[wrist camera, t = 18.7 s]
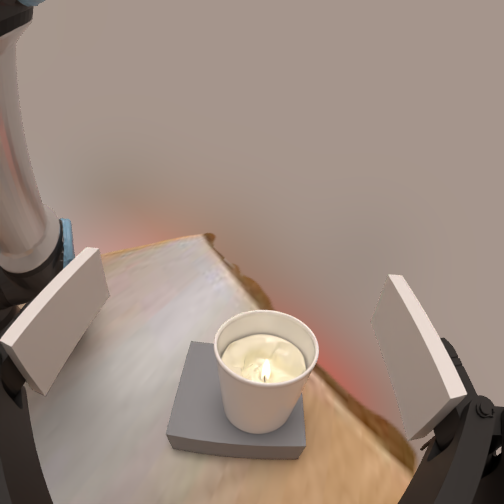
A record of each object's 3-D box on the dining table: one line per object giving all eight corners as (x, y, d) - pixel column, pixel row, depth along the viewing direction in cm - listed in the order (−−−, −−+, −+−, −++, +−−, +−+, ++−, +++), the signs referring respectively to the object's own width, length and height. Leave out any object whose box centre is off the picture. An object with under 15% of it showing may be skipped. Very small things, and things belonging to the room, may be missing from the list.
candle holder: (312, 404, 31) (337, 340, 25) (260, 455, 24) (273, 405, 19) (255, 365, 37) (262, 297, 31) (200, 404, 30) (191, 339, 24)
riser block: (173, 448, 28) (165, 434, 26) (193, 361, 42) (191, 341, 40) (297, 459, 28) (305, 445, 25) (292, 369, 42) (297, 349, 40)
